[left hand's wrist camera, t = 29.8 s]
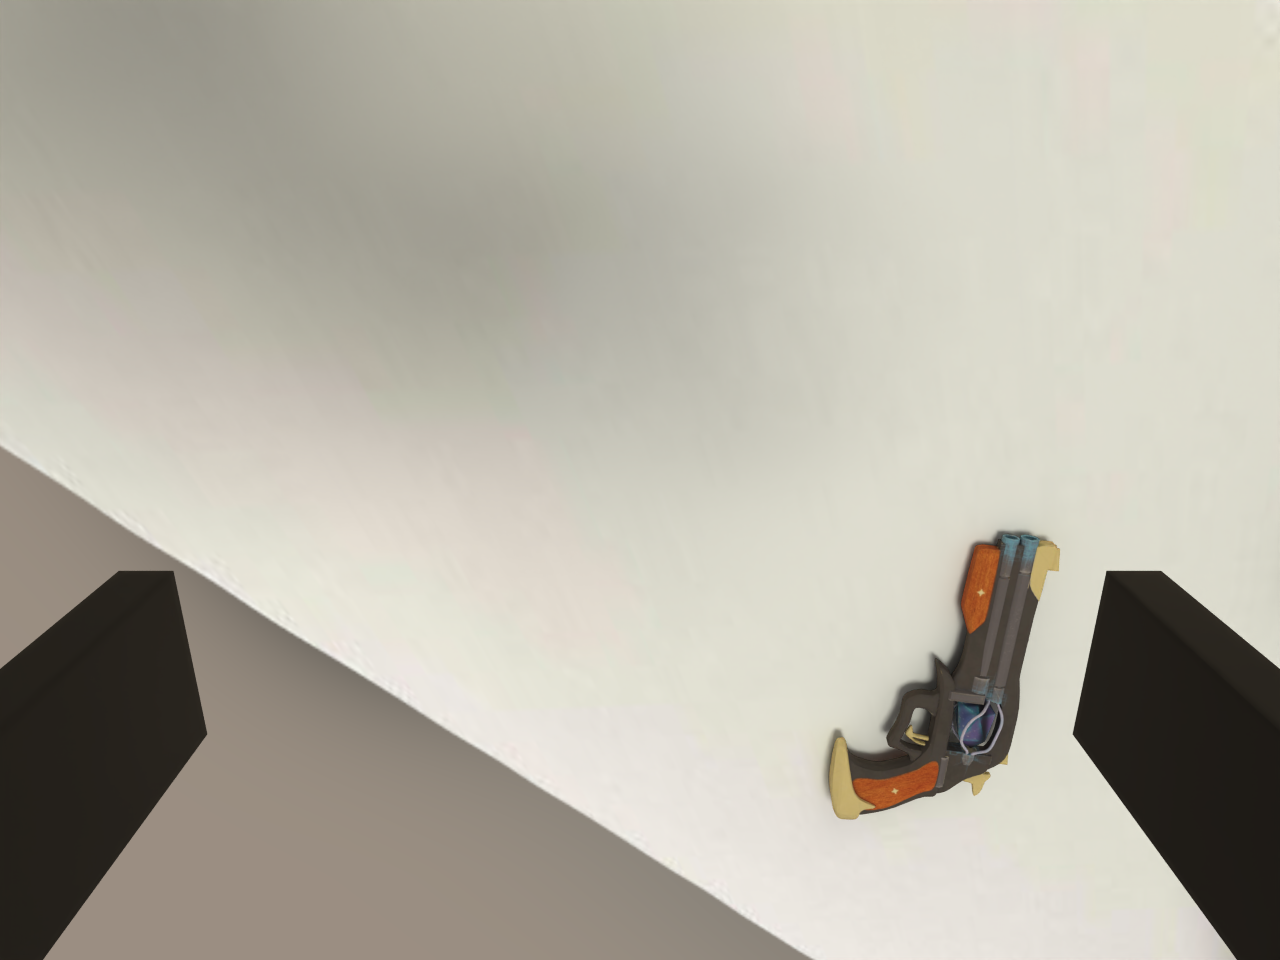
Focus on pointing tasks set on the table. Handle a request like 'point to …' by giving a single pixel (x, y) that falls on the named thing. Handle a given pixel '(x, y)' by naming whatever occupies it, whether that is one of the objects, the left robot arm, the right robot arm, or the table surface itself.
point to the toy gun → (959, 690)
